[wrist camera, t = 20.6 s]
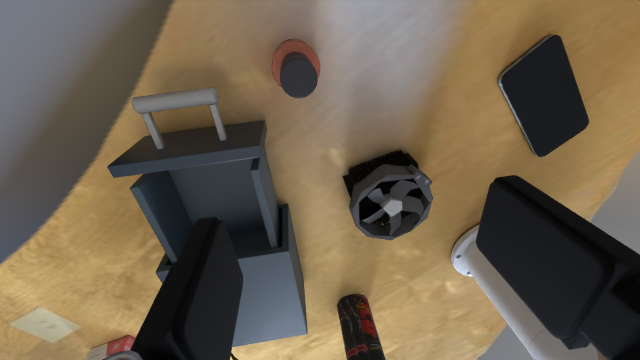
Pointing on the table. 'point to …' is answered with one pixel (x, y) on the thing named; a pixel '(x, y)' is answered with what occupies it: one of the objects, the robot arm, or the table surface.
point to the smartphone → (545, 96)
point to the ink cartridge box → (110, 348)
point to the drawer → (202, 176)
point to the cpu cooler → (388, 195)
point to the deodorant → (359, 329)
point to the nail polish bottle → (296, 68)
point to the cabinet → (267, 290)
